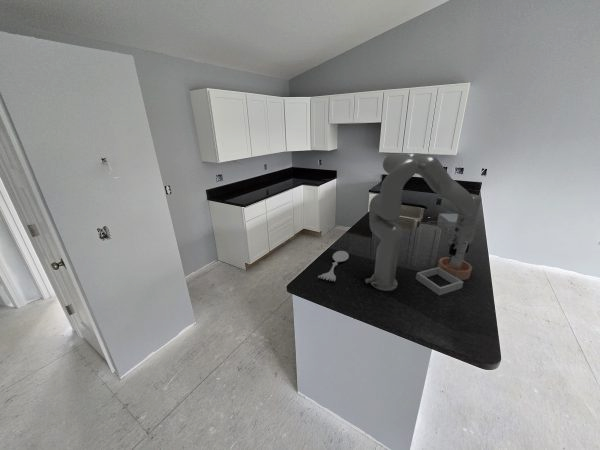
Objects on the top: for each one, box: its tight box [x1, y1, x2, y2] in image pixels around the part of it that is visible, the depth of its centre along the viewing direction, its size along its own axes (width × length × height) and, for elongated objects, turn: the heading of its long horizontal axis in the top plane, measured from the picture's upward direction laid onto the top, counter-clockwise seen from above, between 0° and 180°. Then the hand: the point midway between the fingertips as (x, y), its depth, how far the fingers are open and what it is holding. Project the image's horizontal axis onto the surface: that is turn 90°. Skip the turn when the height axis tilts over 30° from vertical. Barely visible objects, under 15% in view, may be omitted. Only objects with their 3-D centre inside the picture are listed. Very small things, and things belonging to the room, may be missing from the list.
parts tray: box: [415, 266, 464, 296], centre depth 121 cm, size 14×14×4 cm
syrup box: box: [448, 239, 468, 268], centre depth 126 cm, size 6×6×14 cm
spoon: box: [317, 250, 350, 283], centre depth 136 cm, size 9×32×3 cm, turn 156°
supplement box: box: [436, 213, 458, 235], centre depth 179 cm, size 17×13×9 cm
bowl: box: [437, 256, 473, 281], centre depth 130 cm, size 14×14×4 cm
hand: (458, 252), depth 126 cm, fingers closed on syrup box, 7 cm apart
